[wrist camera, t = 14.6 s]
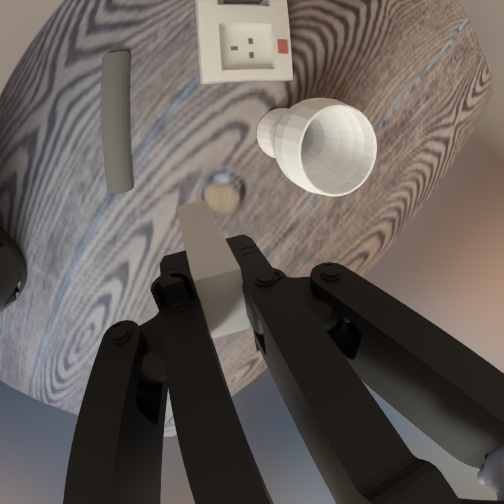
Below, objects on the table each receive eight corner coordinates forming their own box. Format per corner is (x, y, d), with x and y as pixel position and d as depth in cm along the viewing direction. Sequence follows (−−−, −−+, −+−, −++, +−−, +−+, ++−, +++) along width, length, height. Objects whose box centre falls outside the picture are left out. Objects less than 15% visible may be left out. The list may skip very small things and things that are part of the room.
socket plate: (200, 84, 30) (202, 83, 28) (194, -33, 19) (196, -40, 18) (286, 81, 32) (293, 79, 31) (277, -30, 22) (282, -35, 20)
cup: (251, 93, 32) (301, 86, 20) (319, 106, 36) (388, 114, 23) (242, 165, 37) (284, 198, 25) (308, 171, 41) (368, 204, 28)
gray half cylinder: (107, 191, 34) (104, 195, 32) (102, 56, 24) (99, 54, 22) (135, 187, 35) (134, 191, 33) (132, 51, 25) (131, 49, 24)
